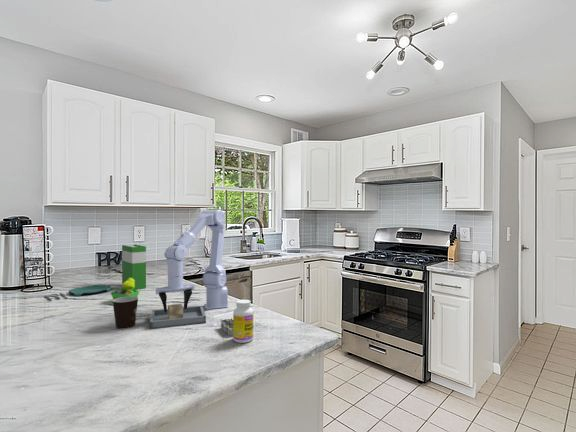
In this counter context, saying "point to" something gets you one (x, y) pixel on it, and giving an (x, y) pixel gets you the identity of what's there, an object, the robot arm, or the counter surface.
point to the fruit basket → (126, 290)
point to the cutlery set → (83, 291)
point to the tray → (189, 317)
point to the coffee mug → (125, 311)
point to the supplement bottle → (243, 322)
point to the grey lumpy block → (227, 326)
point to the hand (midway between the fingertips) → (175, 309)
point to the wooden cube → (175, 311)
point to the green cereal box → (134, 265)
